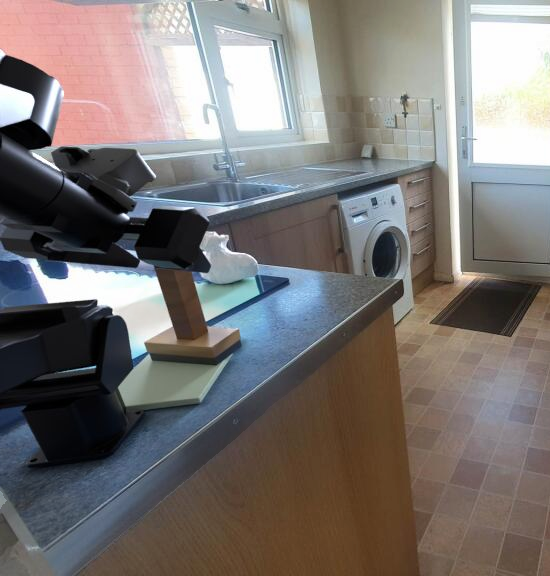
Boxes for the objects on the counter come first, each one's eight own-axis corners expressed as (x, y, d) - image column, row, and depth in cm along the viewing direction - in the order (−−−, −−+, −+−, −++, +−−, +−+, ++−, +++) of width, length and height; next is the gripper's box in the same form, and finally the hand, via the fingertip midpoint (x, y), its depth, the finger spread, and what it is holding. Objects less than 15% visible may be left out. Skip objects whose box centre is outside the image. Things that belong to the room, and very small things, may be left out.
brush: (216, 366, 52) (189, 270, 47) (150, 361, 53) (116, 266, 48) (243, 346, 57) (221, 257, 52) (181, 341, 57) (154, 253, 52)
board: (200, 403, 47) (198, 397, 46) (93, 416, 44) (90, 410, 44) (240, 342, 59) (239, 337, 59) (159, 349, 57) (157, 344, 56)
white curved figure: (197, 290, 80) (157, 259, 70) (212, 258, 84) (175, 224, 74) (260, 292, 81) (228, 261, 71) (271, 260, 84) (242, 226, 75)
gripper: (168, 124, 38) (266, 215, 52) (-16, 115, 39) (130, 206, 53) (114, 227, 34) (237, 295, 48) (-91, 214, 35) (90, 284, 49)
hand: (172, 266), depth 50 cm, fingers open, 9 cm apart
